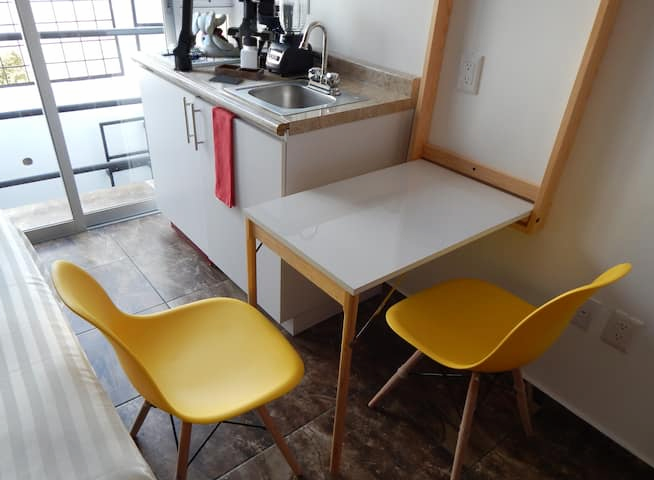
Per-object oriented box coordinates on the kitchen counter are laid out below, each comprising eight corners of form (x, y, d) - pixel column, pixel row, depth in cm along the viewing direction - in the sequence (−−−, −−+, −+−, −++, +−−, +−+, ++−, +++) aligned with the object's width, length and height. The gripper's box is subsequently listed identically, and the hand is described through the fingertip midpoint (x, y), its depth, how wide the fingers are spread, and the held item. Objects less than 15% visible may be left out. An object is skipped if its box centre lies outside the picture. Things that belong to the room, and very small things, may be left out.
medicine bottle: (257, 69, 208) (257, 39, 201) (240, 67, 208) (240, 37, 201) (259, 65, 214) (259, 36, 207) (243, 64, 214) (243, 34, 207)
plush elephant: (223, 48, 259) (222, 5, 248) (248, 56, 247) (248, 11, 235) (179, 52, 243) (175, 5, 232) (203, 61, 231) (201, 12, 219)
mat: (208, 80, 202) (208, 79, 202) (217, 76, 209) (216, 75, 209) (236, 84, 200) (236, 83, 200) (243, 79, 208) (243, 78, 207)
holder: (215, 74, 211) (214, 67, 209) (223, 70, 219) (223, 63, 218) (257, 80, 208) (257, 73, 207) (264, 75, 217) (264, 68, 215)
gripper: (221, 14, 194) (222, 56, 203) (266, 20, 192) (265, 61, 201) (231, 11, 203) (232, 51, 212) (274, 16, 201) (272, 56, 210)
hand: (250, 55), depth 208 cm, fingers closed on medicine bottle, 7 cm apart
